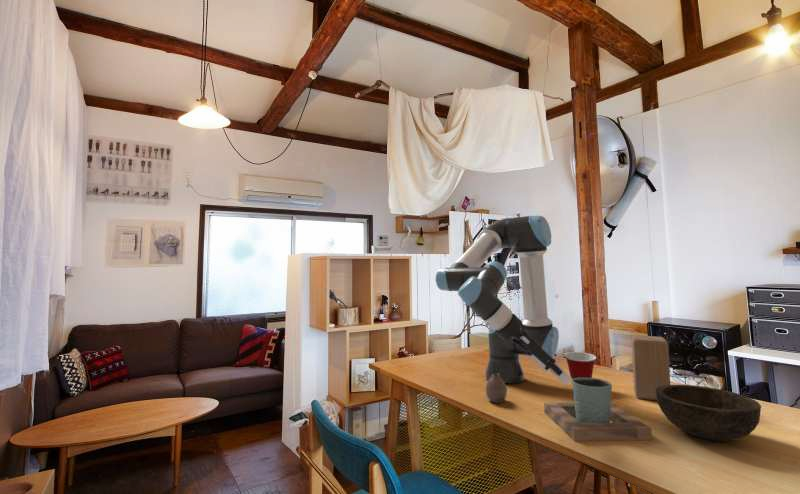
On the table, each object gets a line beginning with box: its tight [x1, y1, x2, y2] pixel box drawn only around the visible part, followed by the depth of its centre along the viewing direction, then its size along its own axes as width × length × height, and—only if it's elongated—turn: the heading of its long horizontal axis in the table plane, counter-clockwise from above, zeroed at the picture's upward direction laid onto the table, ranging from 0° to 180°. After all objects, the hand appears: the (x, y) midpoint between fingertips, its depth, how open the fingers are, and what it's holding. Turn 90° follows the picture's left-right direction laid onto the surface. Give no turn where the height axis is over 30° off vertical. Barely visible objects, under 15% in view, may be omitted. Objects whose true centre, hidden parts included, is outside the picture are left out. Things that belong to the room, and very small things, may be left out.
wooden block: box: [630, 334, 671, 402], centre depth 133 cm, size 10×10×20 cm
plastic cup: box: [564, 351, 597, 381], centre depth 143 cm, size 11×11×12 cm
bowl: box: [656, 384, 762, 442], centre depth 101 cm, size 22×22×10 cm
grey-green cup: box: [571, 377, 612, 423], centre depth 109 cm, size 10×10×12 cm
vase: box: [485, 374, 508, 404], centre depth 130 cm, size 7×7×9 cm
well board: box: [543, 401, 653, 442], centre depth 109 cm, size 20×20×3 cm
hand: (557, 375), depth 109 cm, fingers open, 13 cm apart
